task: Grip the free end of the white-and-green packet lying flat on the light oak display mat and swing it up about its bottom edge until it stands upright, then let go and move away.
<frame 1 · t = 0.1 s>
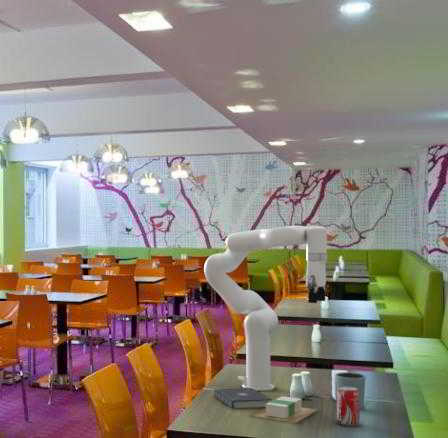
hand: (316, 301, 302), 37 cm above the table, tool pointing down, fingers open, 9 cm apart
grey cup: (350, 408, 282), on the table
soda can: (348, 424, 260), on the table
display mat: (284, 413, 274), on the table
packet: (283, 407, 273), point 3 cm above the table, hinge at 0.6°
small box: (341, 399, 296), on the table
book: (242, 402, 291), on the table, touching display mat
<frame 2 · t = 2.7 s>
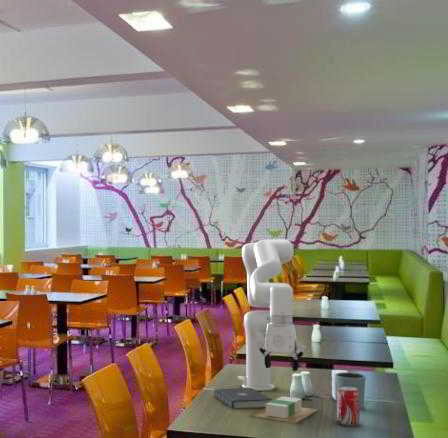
hand: (281, 369, 271), 16 cm above the table, tool pointing down, fingers open, 9 cm apart
nothing on the table moved.
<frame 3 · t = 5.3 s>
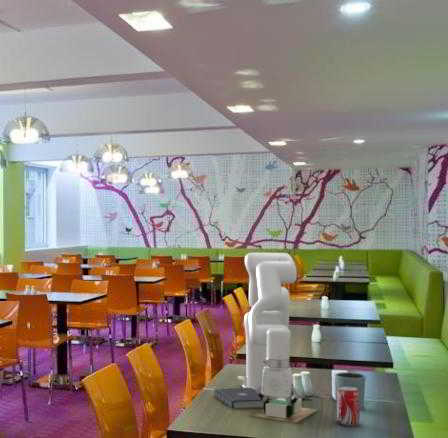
hand: (278, 414, 269), 1 cm above the table, tool pointing down, fingers closed on packet, 7 cm apart
packet: (283, 407, 273), point 3 cm above the table, hinge at 0.6°, touching gripper
everything else where it was.
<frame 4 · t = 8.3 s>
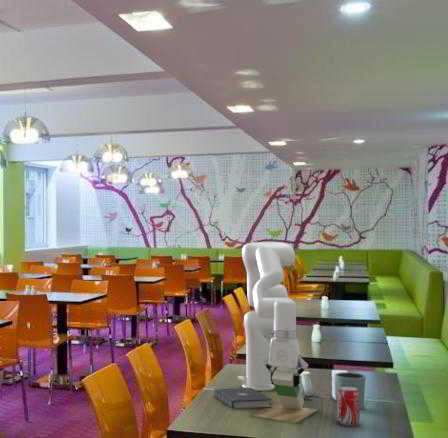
hand: (285, 384, 274), 10 cm above the table, tool pointing down, fingers closed on packet, 7 cm apart
packet: (288, 389, 276), point 8 cm above the table, hinge at 49.3°, touching display mat, gripper
everything else where it was.
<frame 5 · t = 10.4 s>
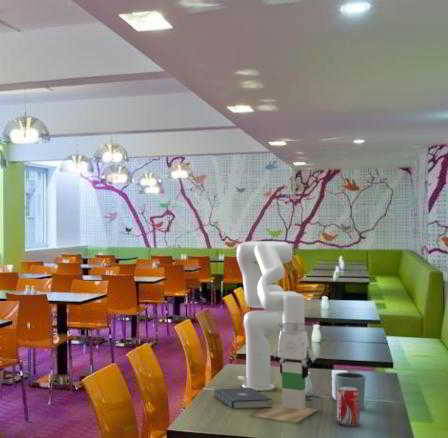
hand: (294, 376, 281), 12 cm above the table, tool pointing down, fingers closed on packet, 7 cm apart
packet: (293, 385, 281), point 9 cm above the table, hinge at 89.3°, touching display mat, gripper
everything else where it was.
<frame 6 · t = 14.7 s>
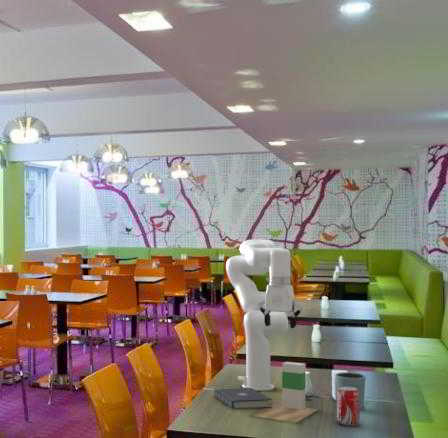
hand: (280, 326, 292), 28 cm above the table, tool pointing down, fingers open, 9 cm apart
packet: (293, 385, 281), point 9 cm above the table, hinge at 90.0°, touching display mat
everything else where it was.
at the end: packet at +90° (first picture: +1°); the gripper is holding nothing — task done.
